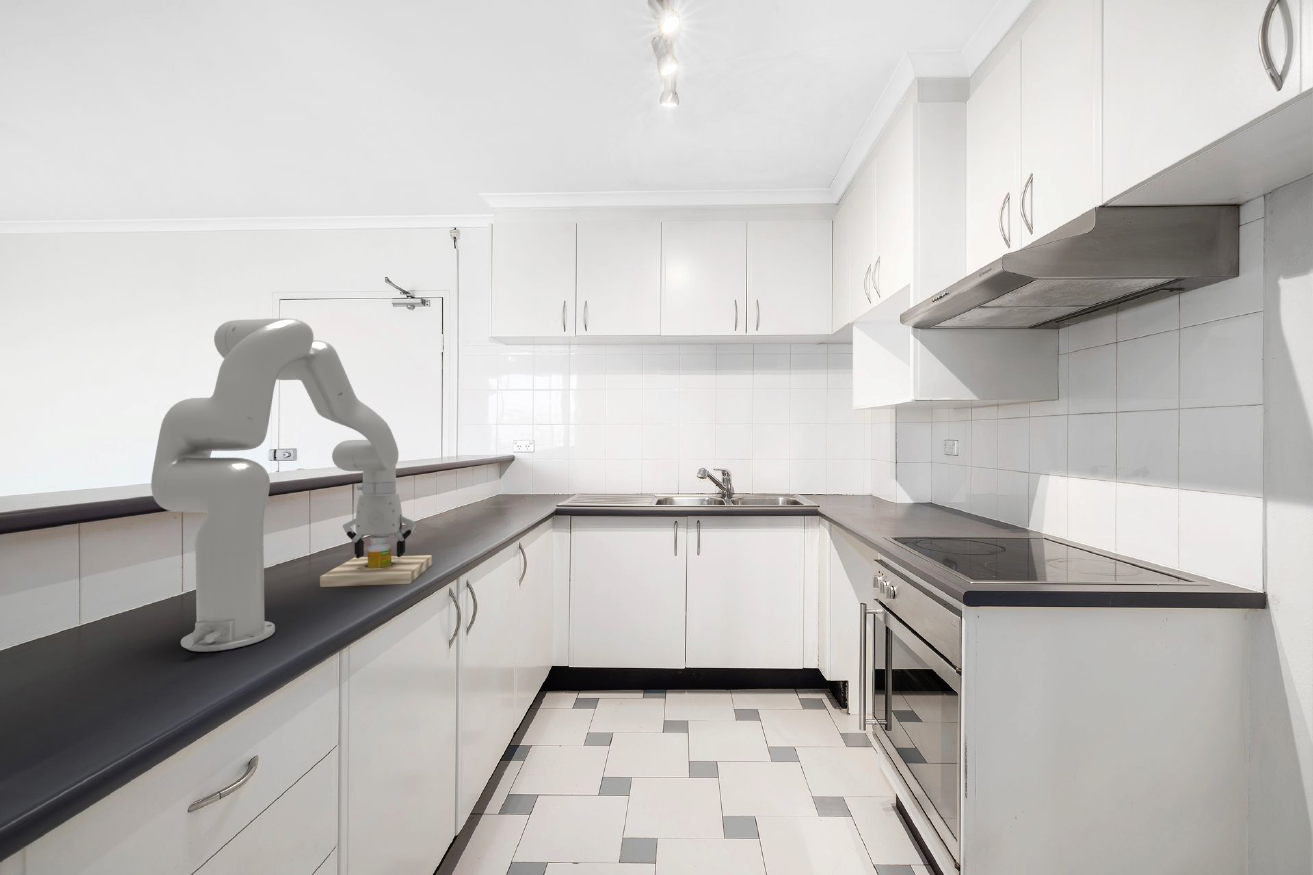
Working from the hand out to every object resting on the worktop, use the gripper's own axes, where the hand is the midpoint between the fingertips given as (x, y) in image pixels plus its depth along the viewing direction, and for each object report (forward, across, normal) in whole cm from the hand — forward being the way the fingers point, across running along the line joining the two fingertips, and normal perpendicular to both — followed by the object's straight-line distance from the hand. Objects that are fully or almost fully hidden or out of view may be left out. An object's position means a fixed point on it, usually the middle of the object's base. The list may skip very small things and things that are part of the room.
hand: (380, 556), depth 145 cm
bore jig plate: (+5, 0, 0) cm, 5 cm away
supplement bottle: (+5, 0, 0) cm, 5 cm away
